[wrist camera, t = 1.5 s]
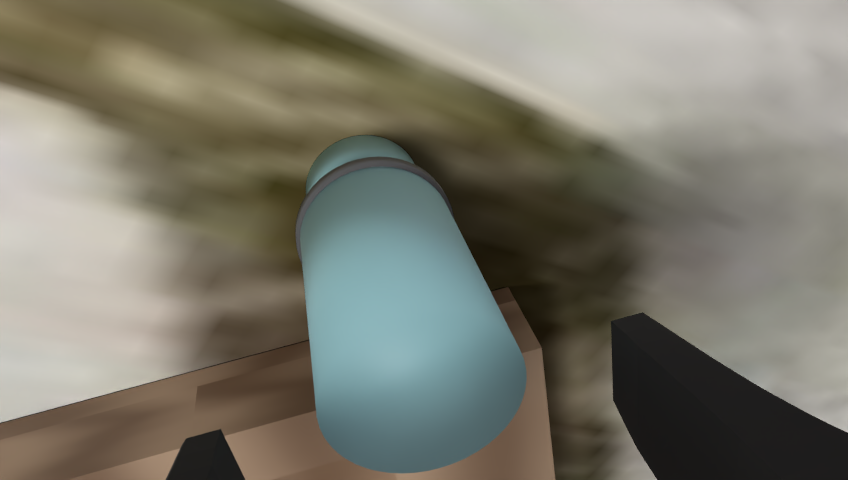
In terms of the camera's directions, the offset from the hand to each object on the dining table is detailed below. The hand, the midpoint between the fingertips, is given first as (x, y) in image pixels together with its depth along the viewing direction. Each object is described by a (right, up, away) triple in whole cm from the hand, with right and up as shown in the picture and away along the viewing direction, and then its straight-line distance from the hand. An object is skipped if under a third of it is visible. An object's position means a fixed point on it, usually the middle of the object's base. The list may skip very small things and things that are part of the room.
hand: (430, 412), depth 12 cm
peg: (-2, +5, +8) cm, 9 cm away
